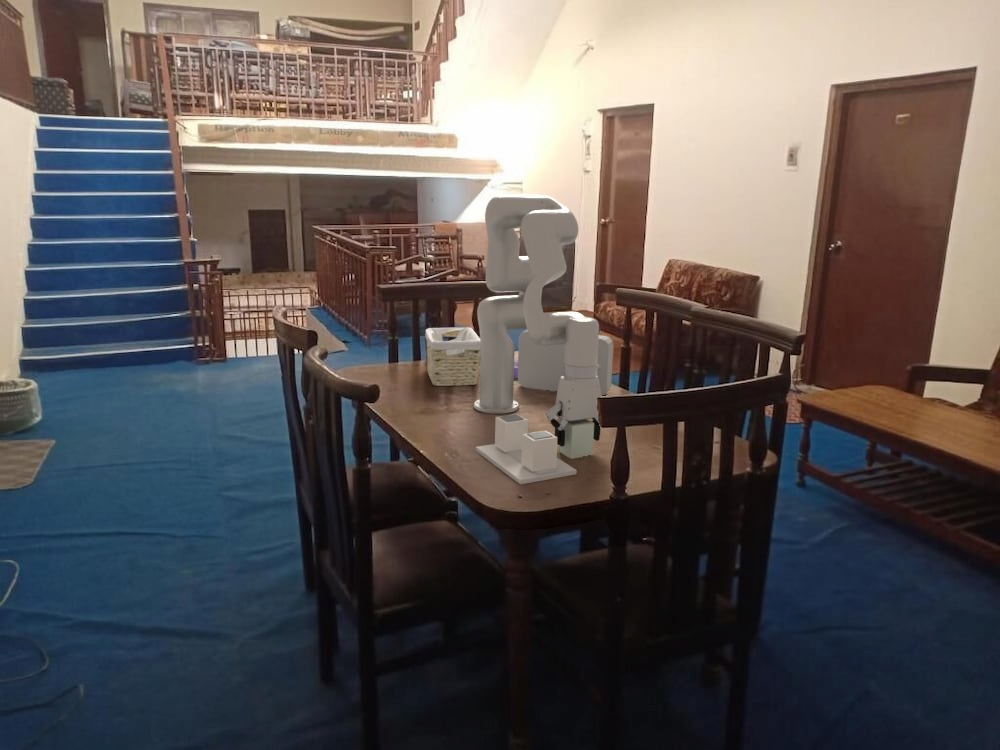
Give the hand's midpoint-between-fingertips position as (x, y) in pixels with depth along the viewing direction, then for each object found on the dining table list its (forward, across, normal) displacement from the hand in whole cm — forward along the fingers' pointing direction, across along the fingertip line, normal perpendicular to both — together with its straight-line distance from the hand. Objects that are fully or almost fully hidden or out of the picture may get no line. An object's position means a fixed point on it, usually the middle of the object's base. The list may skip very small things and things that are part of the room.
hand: (577, 441), depth 173 cm
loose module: (+3, 0, 0) cm, 3 cm away
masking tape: (+2, -24, -70) cm, 74 cm away
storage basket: (+2, -1, -76) cm, 76 cm away
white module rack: (+3, +14, 0) cm, 14 cm away
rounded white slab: (+3, -26, -49) cm, 55 cm away
